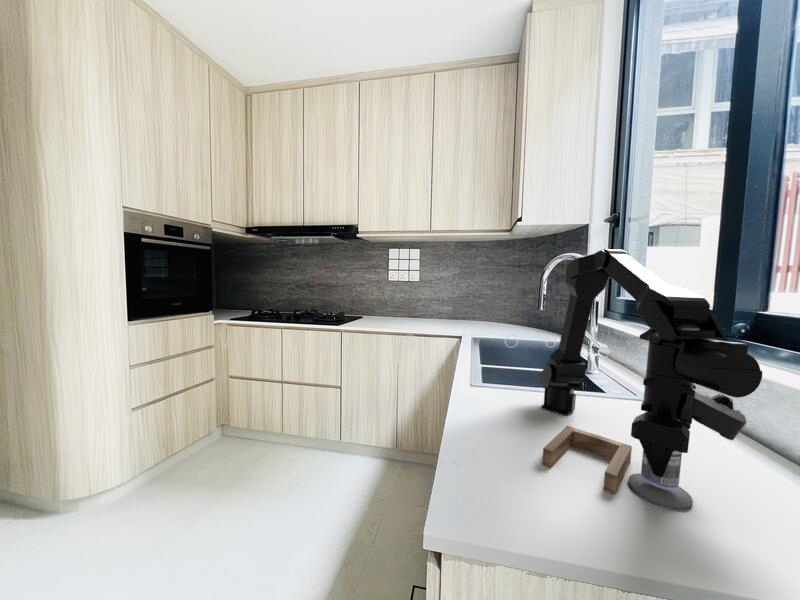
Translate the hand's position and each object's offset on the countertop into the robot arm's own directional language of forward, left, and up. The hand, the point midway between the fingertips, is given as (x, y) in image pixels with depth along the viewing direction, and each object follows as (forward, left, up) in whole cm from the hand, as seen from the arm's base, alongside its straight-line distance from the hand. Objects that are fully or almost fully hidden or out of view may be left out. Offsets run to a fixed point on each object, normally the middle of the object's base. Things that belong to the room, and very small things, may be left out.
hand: (660, 469), depth 51 cm
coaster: (0, 0, -4) cm, 4 cm away
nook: (-10, +1, -4) cm, 11 cm away
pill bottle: (0, 0, -2) cm, 2 cm away
